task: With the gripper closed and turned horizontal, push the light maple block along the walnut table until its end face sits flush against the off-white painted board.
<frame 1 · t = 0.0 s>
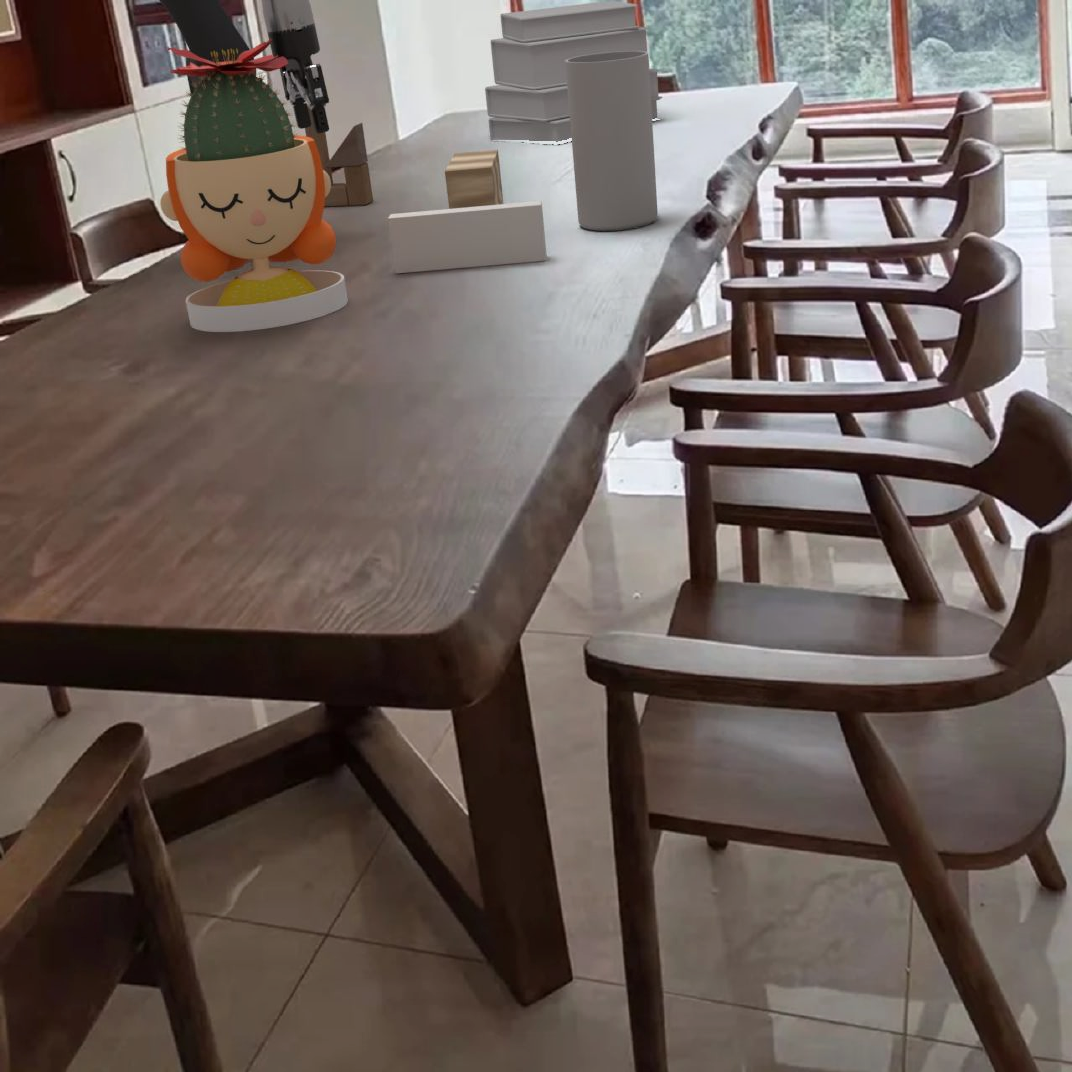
hand: (313, 129, 225), 17 cm above the table, tool pointing down, fingers open, 8 cm apart
maple block: (480, 237, 220), on the table
board: (471, 264, 203), on the table
cylinder vase: (618, 224, 220), on the table
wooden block: (343, 205, 257), on the table
potted cactus: (266, 309, 191), on the table
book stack: (576, 131, 313), on the table
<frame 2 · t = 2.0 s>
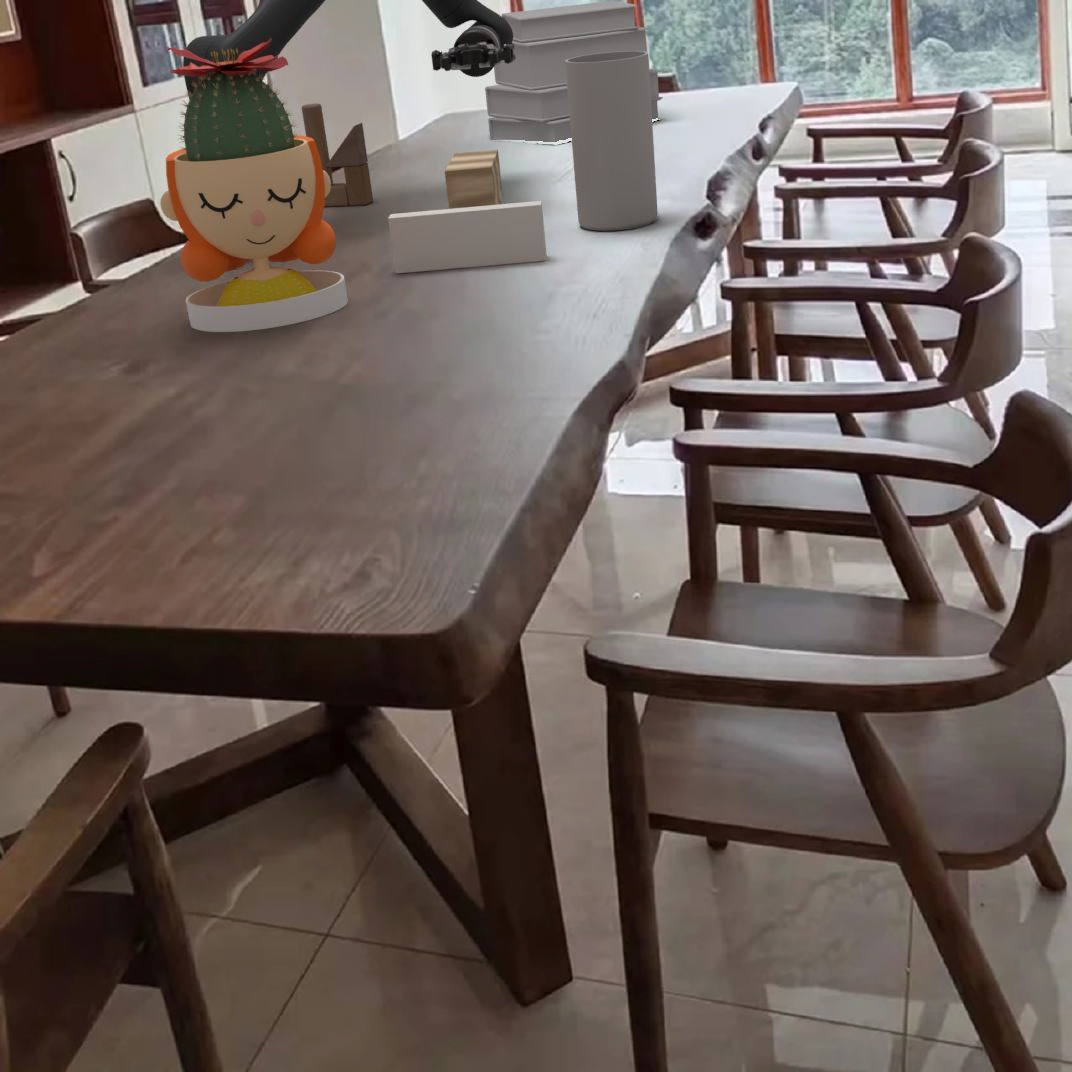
hand: (469, 61, 221), 25 cm above the table, tool horizontal, fingers open, 6 cm apart
nothing on the table moved.
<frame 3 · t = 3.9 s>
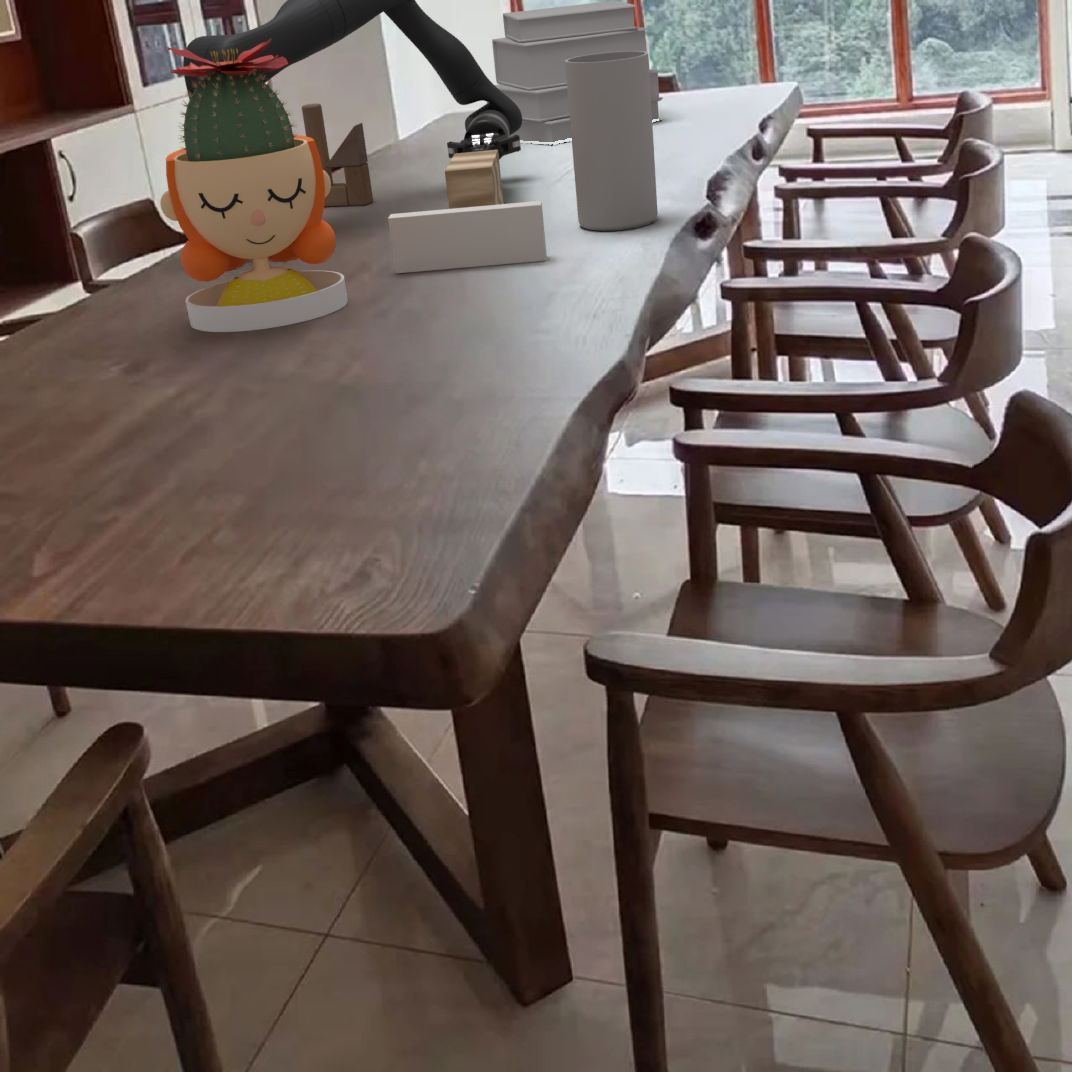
hand: (480, 155, 227), 10 cm above the table, tool horizontal, fingers closed
nothing on the table moved.
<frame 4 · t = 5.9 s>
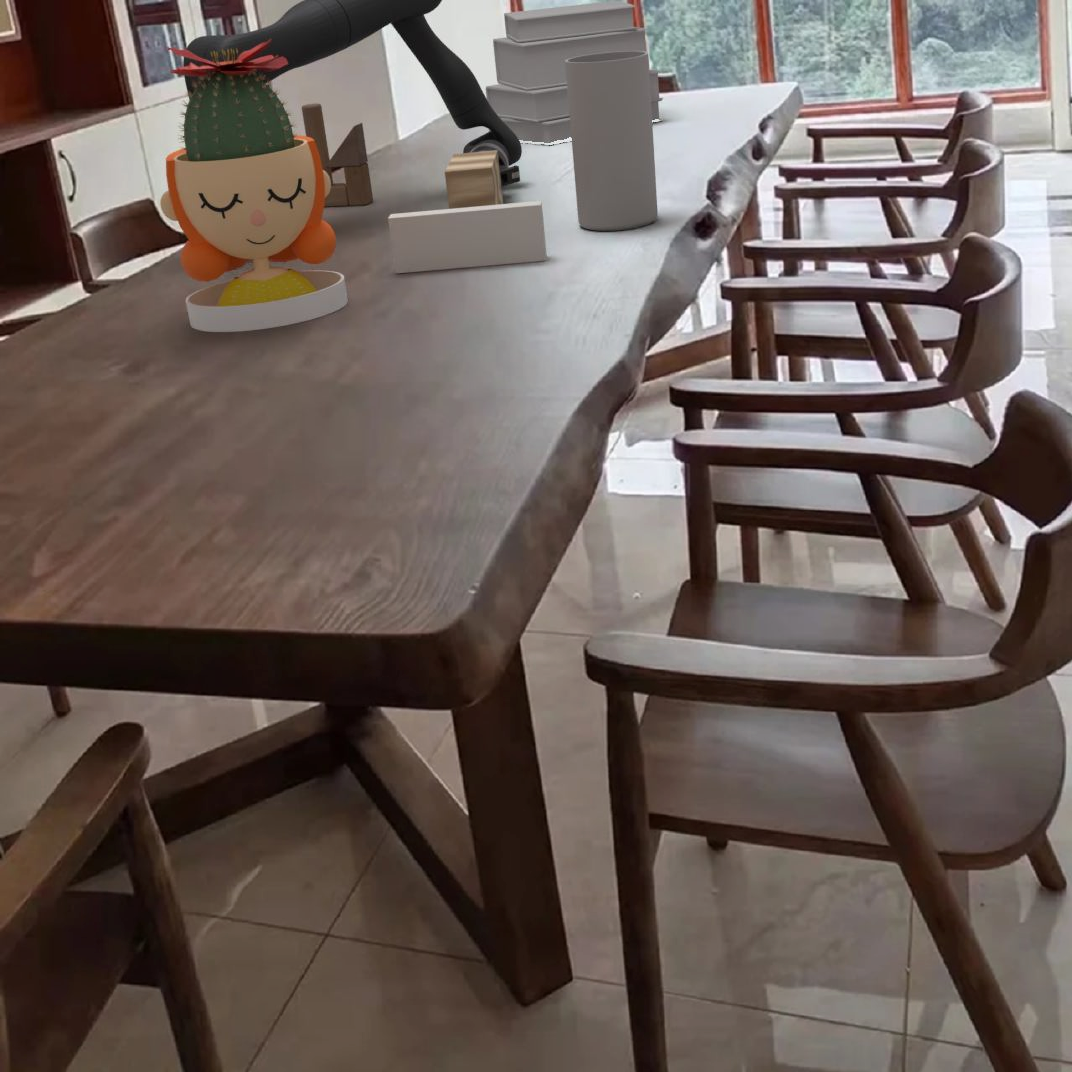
hand: (479, 186, 224), 7 cm above the table, tool horizontal, fingers closed
maple block: (480, 238, 219), on the table, touching gripper
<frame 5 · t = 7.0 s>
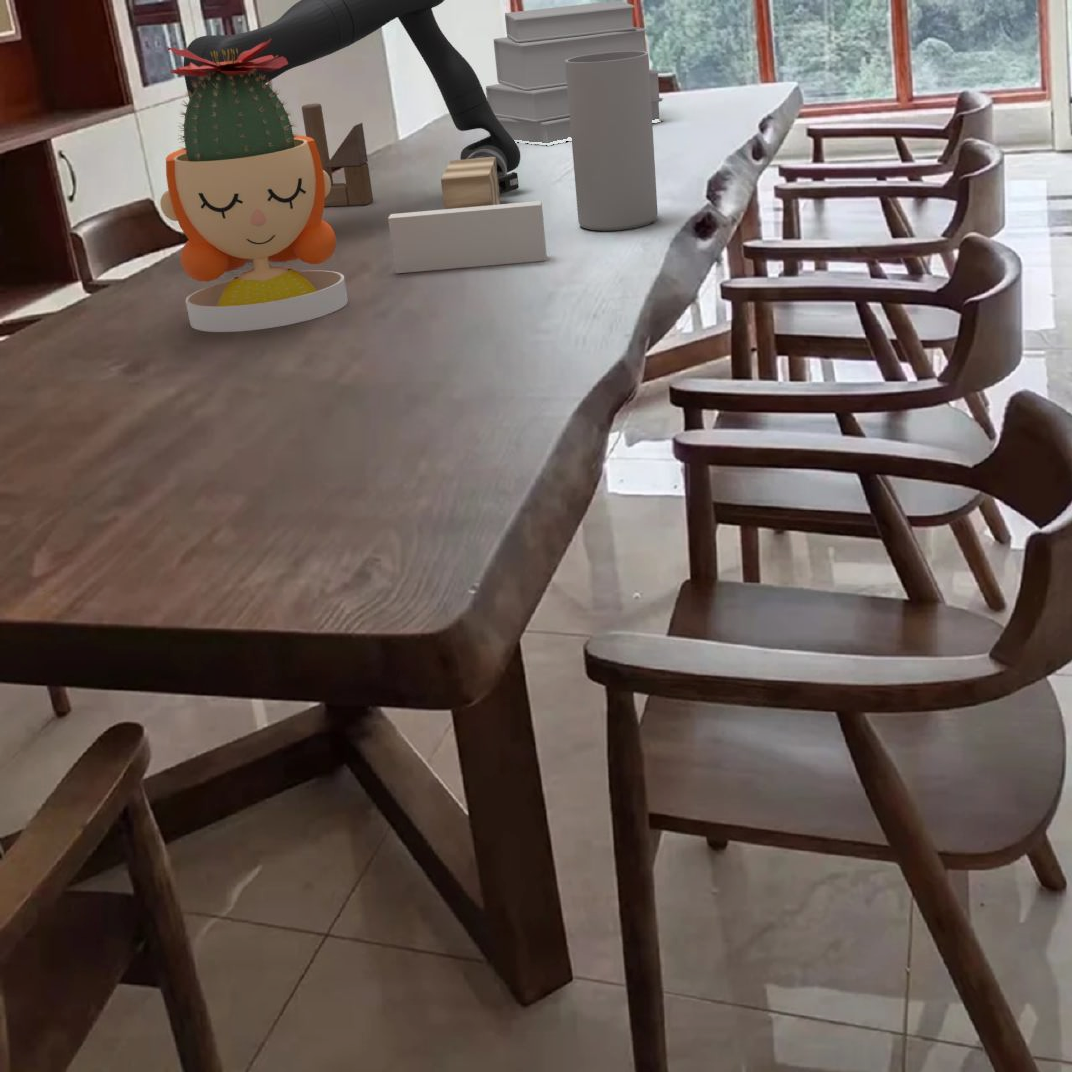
hand: (476, 194, 218), 6 cm above the table, tool horizontal, fingers closed
maple block: (478, 247, 213), on the table, touching gripper
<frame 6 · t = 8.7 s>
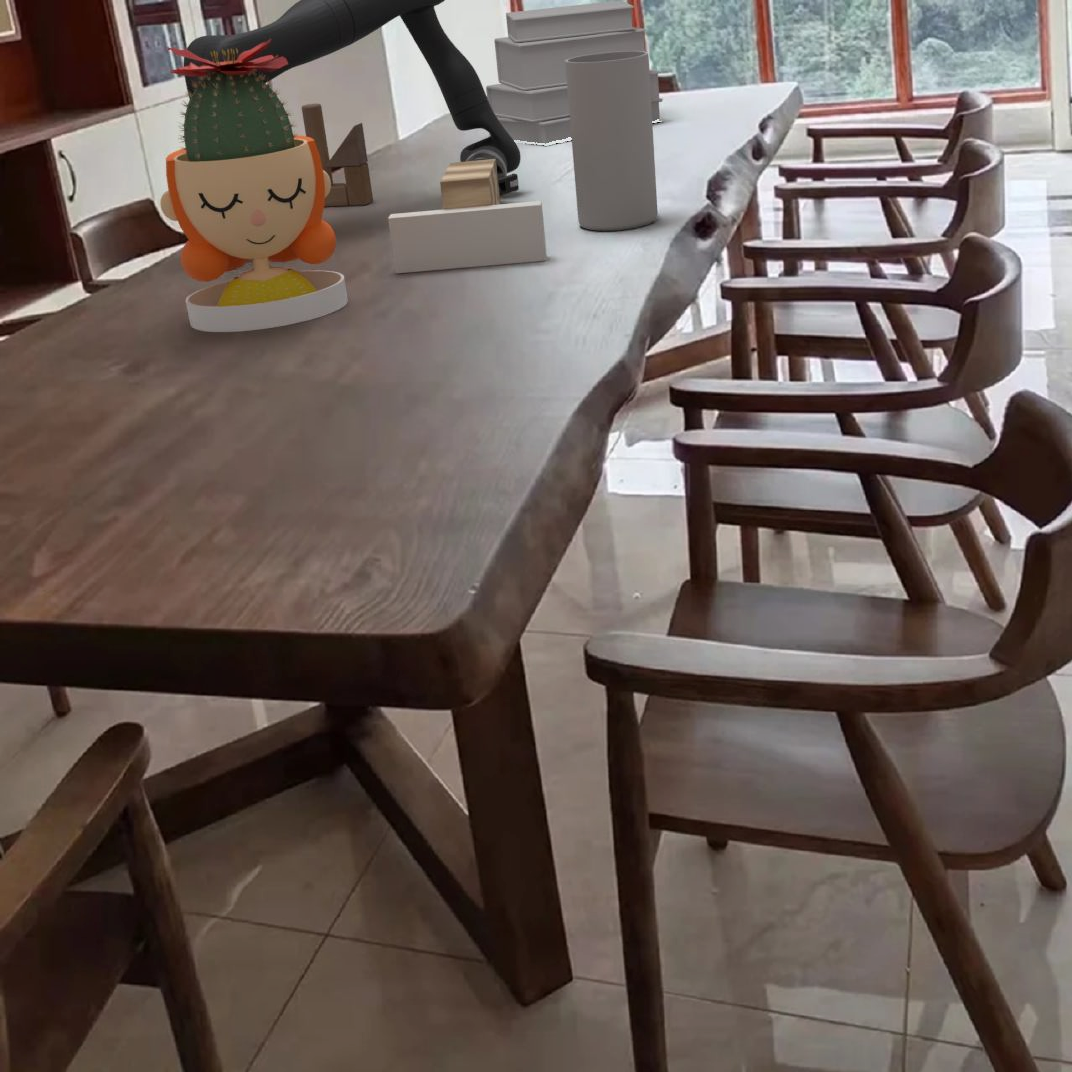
hand: (476, 196, 216), 6 cm above the table, tool horizontal, fingers closed
maple block: (477, 250, 212), on the table, touching board
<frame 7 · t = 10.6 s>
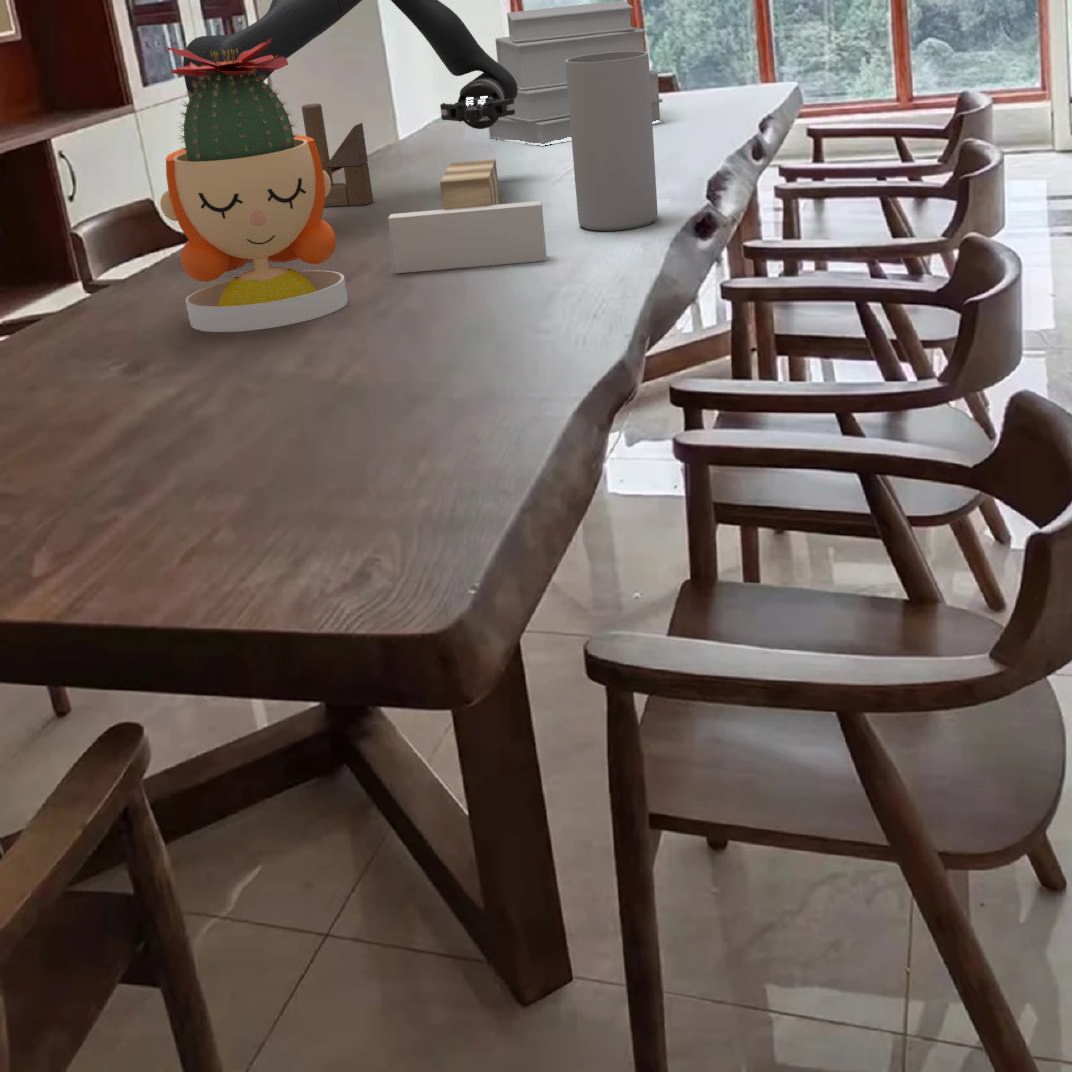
hand: (473, 115, 224), 17 cm above the table, tool horizontal, fingers closed
maple block: (477, 250, 212), on the table
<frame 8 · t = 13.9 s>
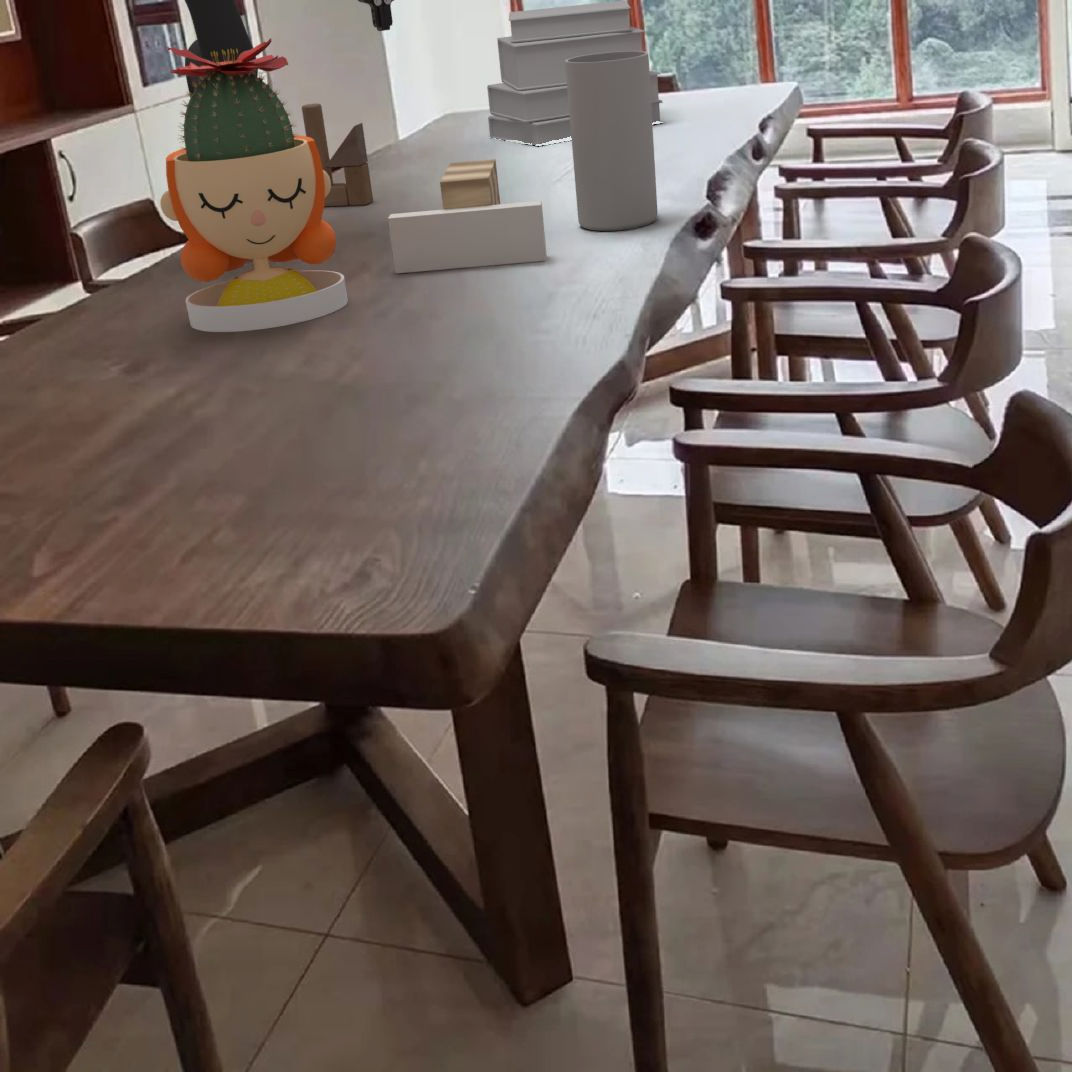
hand: (383, 30, 220), 31 cm above the table, tool pointing down, fingers closed
at the end: maple block 9.5 cm from the board (horizontally); maple block 0.2 cm from the target spot on the table beside the board, on the table; maple block tilted 0° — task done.
